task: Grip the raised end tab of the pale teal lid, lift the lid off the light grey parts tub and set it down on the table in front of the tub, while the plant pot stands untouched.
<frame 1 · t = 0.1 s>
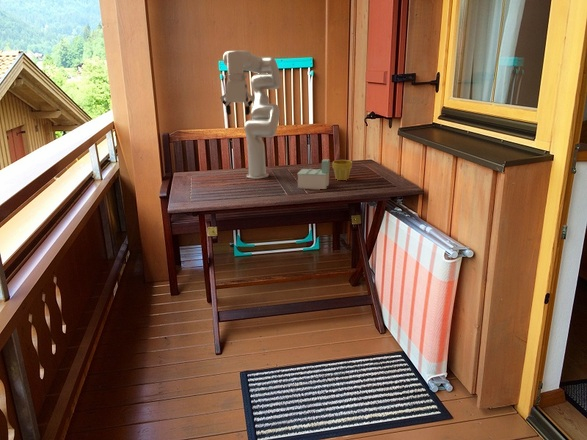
hand: (238, 114, 225), 37 cm above the table, tool pointing down, fingers open, 9 cm apart
tub: (313, 186, 234), on the table
plant pot: (342, 180, 247), on the table
lid: (313, 173, 232), point 7 cm above the table, touching tub
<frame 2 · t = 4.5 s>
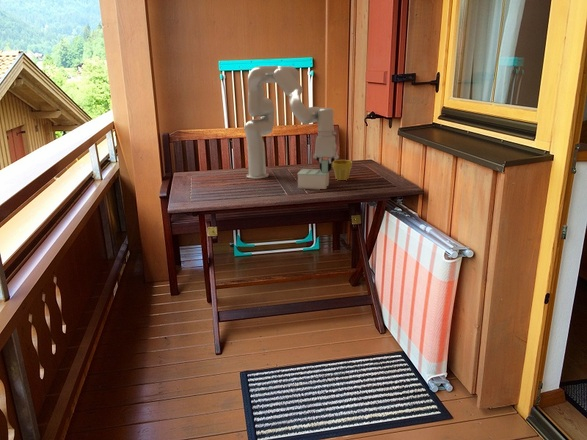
hand: (325, 170, 230), 9 cm above the table, tool pointing down, fingers closed on lid, 3 cm apart
lid: (313, 173, 232), point 7 cm above the table, touching gripper, tub
everything else where it was.
when the fingers open (4 cm above the table, at t = 10.6 s): lid drops 1 cm, point 1 cm above the table.
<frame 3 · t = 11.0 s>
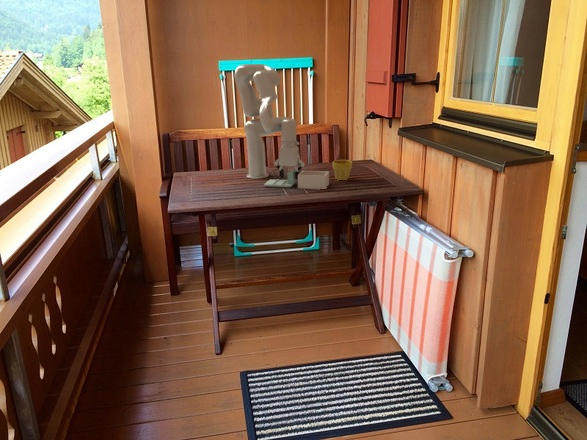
hand: (289, 178, 236), 4 cm above the table, tool pointing down, fingers open, 7 cm apart
lid: (280, 183, 238), point 1 cm above the table
everything else where it was.
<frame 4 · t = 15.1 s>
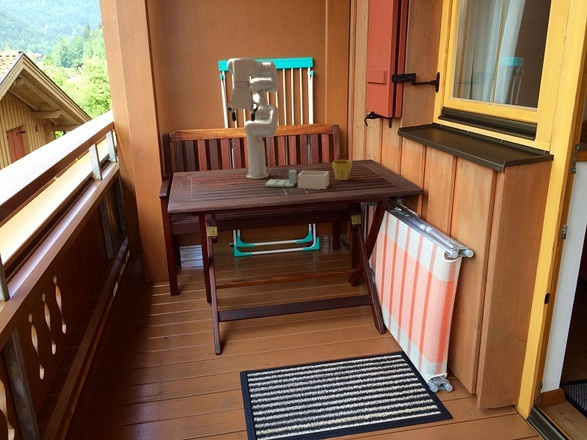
hand: (243, 121, 227), 33 cm above the table, tool pointing down, fingers open, 9 cm apart
at the end: lid inside the target area (0.5 cm from its centre), point 0.8 cm above the table; lid tilted 0°; lid touching table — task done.
